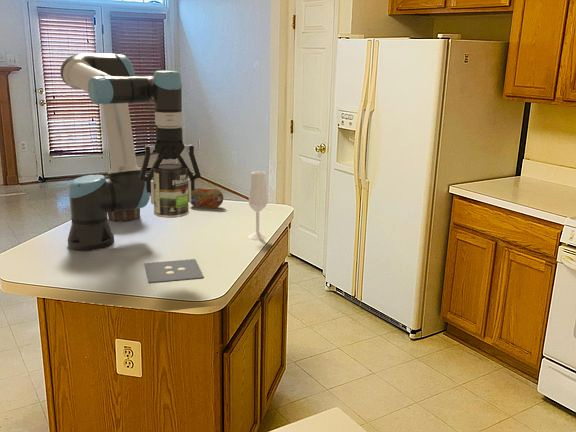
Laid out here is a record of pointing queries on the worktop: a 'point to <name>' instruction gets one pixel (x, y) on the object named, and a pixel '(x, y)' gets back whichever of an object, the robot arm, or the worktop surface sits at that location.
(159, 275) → the dot mat
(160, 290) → the worktop surface
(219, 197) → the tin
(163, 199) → the coffee can
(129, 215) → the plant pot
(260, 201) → the champagne flute
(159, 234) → the worktop surface
